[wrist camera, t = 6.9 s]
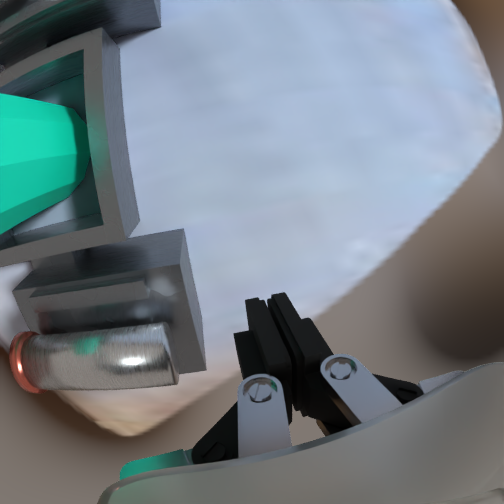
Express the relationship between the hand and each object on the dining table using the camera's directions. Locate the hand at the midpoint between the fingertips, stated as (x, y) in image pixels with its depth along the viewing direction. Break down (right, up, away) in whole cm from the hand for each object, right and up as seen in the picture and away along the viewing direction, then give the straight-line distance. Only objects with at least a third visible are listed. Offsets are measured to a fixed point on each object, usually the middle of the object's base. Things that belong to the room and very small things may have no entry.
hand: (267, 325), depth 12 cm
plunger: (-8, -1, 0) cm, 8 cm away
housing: (-11, +9, +1) cm, 14 cm away
